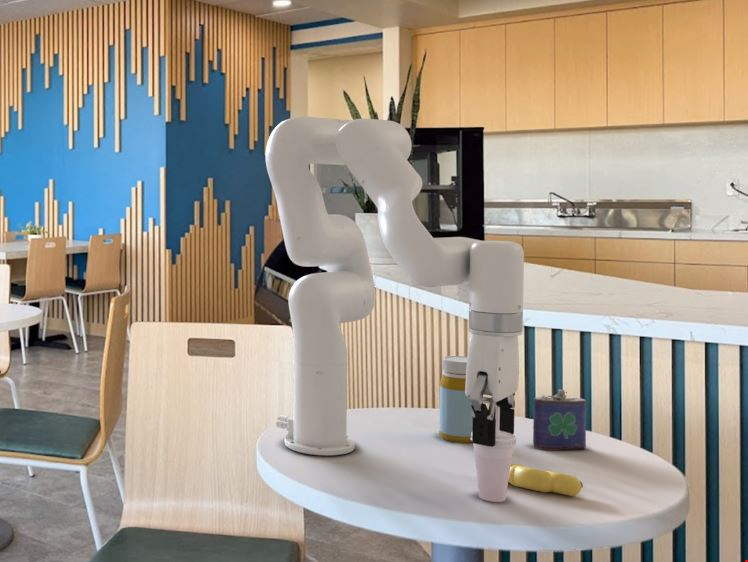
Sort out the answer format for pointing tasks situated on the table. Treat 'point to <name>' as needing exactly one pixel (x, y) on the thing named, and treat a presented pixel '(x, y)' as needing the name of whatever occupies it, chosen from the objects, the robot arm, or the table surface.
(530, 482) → the yellow lumpy bar
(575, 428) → the flask
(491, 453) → the smoothie
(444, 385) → the bottle
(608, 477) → the table surface
